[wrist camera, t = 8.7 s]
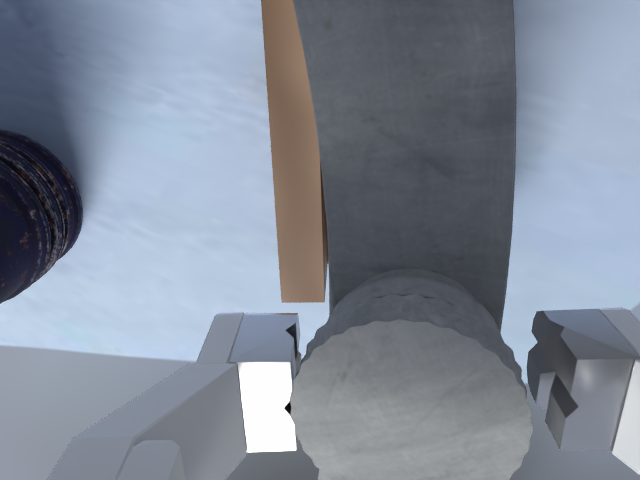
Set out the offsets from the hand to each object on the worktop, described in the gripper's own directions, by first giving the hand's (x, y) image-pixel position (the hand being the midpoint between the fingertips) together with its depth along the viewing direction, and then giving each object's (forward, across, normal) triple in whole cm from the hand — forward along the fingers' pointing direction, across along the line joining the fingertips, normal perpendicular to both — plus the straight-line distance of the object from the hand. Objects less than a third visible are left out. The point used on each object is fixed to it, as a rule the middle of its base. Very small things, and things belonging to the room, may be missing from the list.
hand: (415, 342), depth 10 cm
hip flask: (+18, +3, 0) cm, 18 cm away
